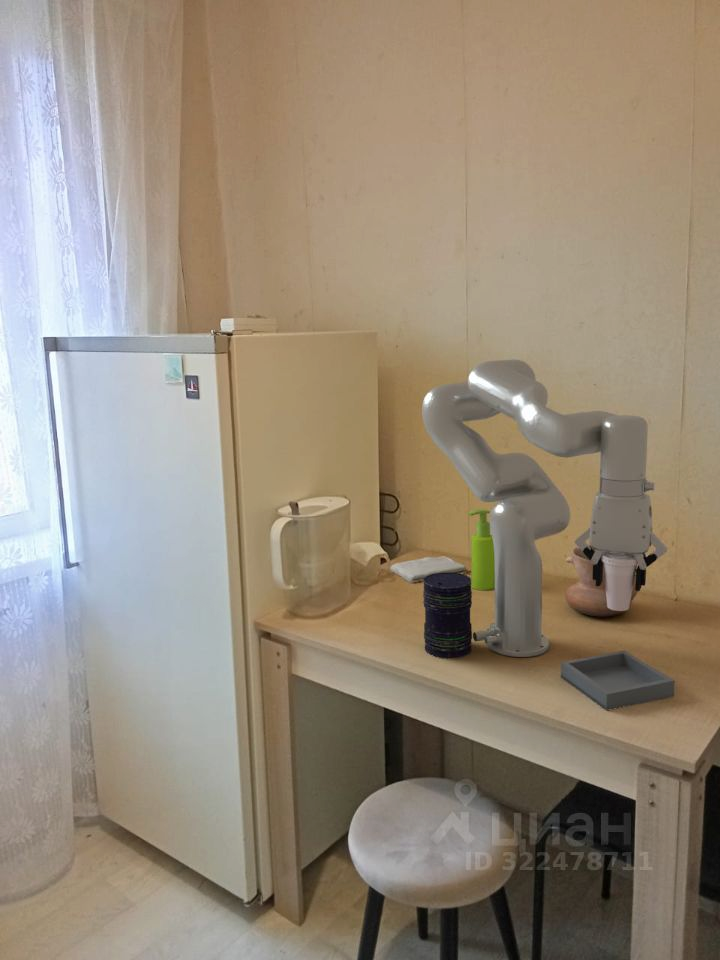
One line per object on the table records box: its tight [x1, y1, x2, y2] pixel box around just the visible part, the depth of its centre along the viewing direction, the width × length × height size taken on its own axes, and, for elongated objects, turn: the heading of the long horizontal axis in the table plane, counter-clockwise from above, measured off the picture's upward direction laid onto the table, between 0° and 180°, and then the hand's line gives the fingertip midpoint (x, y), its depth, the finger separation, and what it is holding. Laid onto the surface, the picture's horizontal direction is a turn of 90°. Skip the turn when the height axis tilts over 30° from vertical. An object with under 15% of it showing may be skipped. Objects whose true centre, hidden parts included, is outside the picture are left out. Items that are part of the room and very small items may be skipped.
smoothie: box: [601, 551, 638, 612], centre depth 138 cm, size 6×6×14 cm
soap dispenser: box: [467, 509, 495, 591], centre depth 196 cm, size 6×7×20 cm
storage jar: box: [422, 572, 473, 660], centre depth 159 cm, size 10×10×15 cm
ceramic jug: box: [564, 544, 639, 618], centre depth 177 cm, size 18×14×14 cm
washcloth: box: [390, 555, 467, 584], centre depth 210 cm, size 12×18×3 cm, turn 116°
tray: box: [560, 650, 676, 711], centre depth 141 cm, size 14×14×3 cm
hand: (618, 585), depth 138 cm, fingers closed on smoothie, 6 cm apart
